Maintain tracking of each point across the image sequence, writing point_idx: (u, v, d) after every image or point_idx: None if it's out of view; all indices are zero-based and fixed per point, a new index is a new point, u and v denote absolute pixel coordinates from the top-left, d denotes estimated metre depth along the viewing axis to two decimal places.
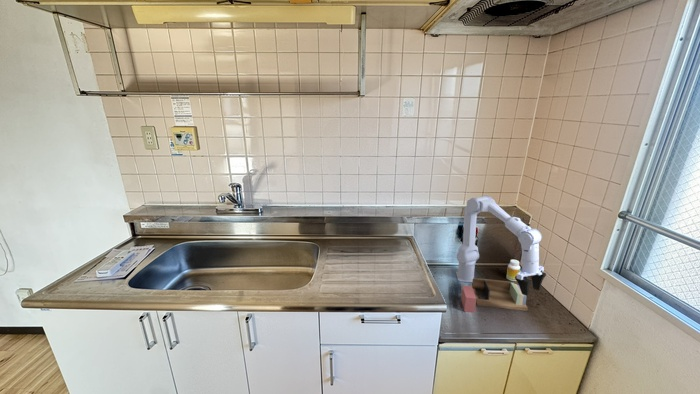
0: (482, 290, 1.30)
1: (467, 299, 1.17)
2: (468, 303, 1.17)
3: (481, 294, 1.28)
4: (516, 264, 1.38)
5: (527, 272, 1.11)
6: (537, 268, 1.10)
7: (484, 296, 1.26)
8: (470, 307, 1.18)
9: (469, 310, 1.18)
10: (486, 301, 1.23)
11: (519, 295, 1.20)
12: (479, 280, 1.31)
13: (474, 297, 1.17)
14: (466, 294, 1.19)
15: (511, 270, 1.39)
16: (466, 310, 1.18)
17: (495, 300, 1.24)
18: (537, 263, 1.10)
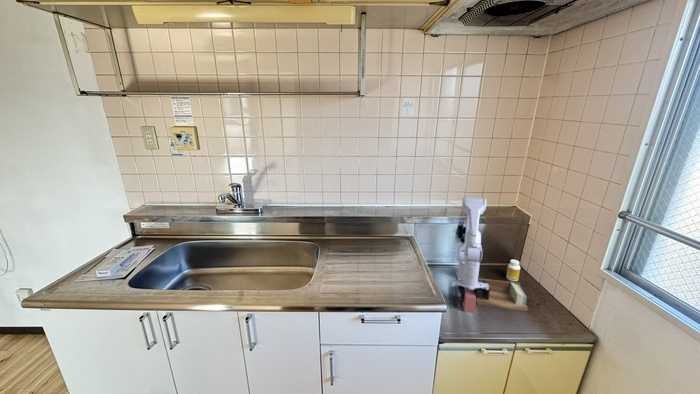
0: (482, 290, 1.30)
1: (467, 299, 1.17)
2: (468, 303, 1.17)
3: (481, 294, 1.28)
4: (516, 264, 1.38)
5: (462, 283, 1.20)
6: (471, 283, 1.17)
7: (484, 296, 1.26)
8: (470, 307, 1.18)
9: (469, 310, 1.18)
10: (486, 301, 1.23)
11: (519, 295, 1.20)
12: (479, 280, 1.31)
13: (474, 297, 1.17)
14: (466, 294, 1.19)
15: (511, 270, 1.39)
16: (466, 310, 1.18)
17: (495, 300, 1.24)
18: (471, 278, 1.16)
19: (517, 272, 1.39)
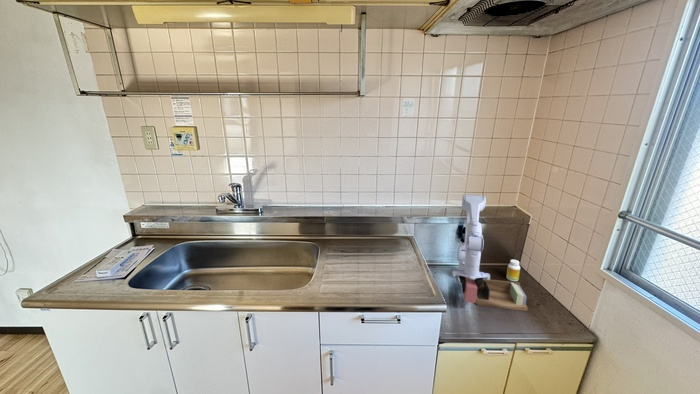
0: (482, 290, 1.30)
1: (468, 289, 1.16)
2: (469, 293, 1.16)
3: (481, 294, 1.28)
4: (516, 264, 1.38)
5: (463, 273, 1.18)
6: (472, 272, 1.15)
7: (484, 296, 1.26)
8: (471, 297, 1.16)
9: (470, 300, 1.17)
10: (486, 301, 1.23)
11: (519, 295, 1.20)
12: None
13: (475, 287, 1.15)
14: (467, 284, 1.18)
15: (511, 270, 1.39)
16: (467, 300, 1.17)
17: (495, 300, 1.24)
18: (473, 268, 1.15)
19: (517, 272, 1.39)
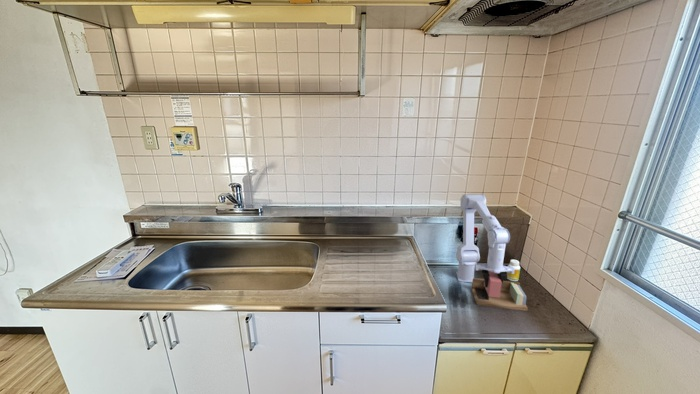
0: (482, 290, 1.30)
1: (492, 283, 1.13)
2: (493, 287, 1.13)
3: (481, 294, 1.28)
4: (516, 264, 1.38)
5: (487, 266, 1.16)
6: (496, 266, 1.13)
7: (484, 296, 1.26)
8: (495, 291, 1.14)
9: (494, 294, 1.14)
10: (486, 301, 1.23)
11: (519, 295, 1.20)
12: (479, 280, 1.31)
13: (499, 281, 1.13)
14: (491, 278, 1.15)
15: None
16: (491, 295, 1.14)
17: (495, 300, 1.24)
18: (497, 262, 1.12)
19: (517, 272, 1.39)
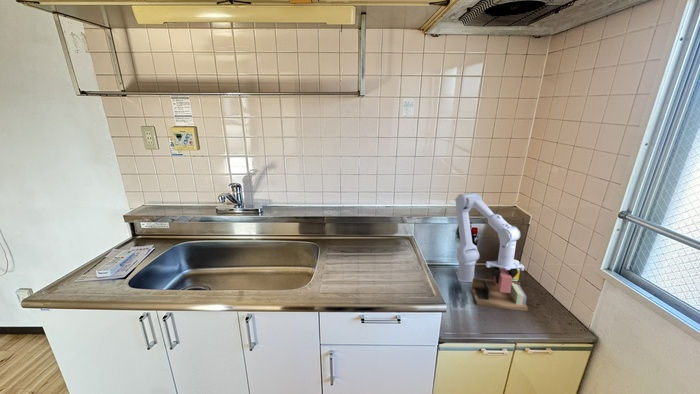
0: (482, 290, 1.30)
1: (503, 279, 1.18)
2: (504, 283, 1.18)
3: (481, 294, 1.28)
4: None
5: (498, 264, 1.21)
6: (507, 263, 1.18)
7: (484, 296, 1.26)
8: (506, 287, 1.19)
9: (505, 290, 1.19)
10: (486, 301, 1.23)
11: (519, 295, 1.20)
12: (479, 280, 1.31)
13: (510, 277, 1.18)
14: (502, 275, 1.20)
15: None
16: (502, 290, 1.19)
17: (495, 300, 1.24)
18: (508, 259, 1.17)
19: None
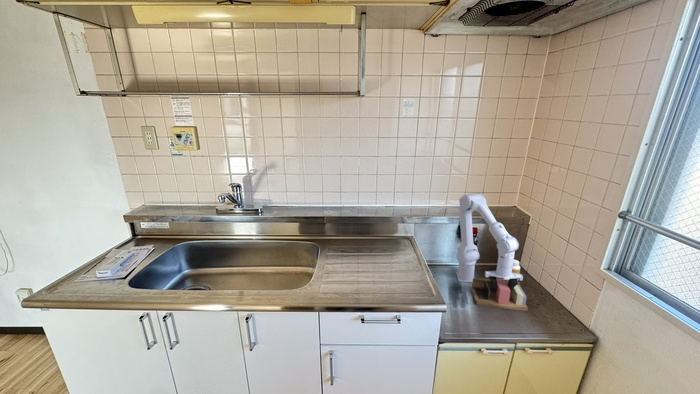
0: (482, 290, 1.30)
1: (501, 291, 1.20)
2: (502, 295, 1.20)
3: (481, 294, 1.28)
4: (516, 264, 1.38)
5: (496, 273, 1.22)
6: (505, 273, 1.19)
7: (484, 296, 1.26)
8: (504, 299, 1.20)
9: (503, 302, 1.21)
10: (486, 301, 1.23)
11: (519, 295, 1.20)
12: (479, 280, 1.31)
13: (508, 289, 1.19)
14: (500, 286, 1.21)
15: None
16: (500, 302, 1.21)
17: (495, 300, 1.24)
18: (506, 269, 1.19)
19: (517, 272, 1.39)
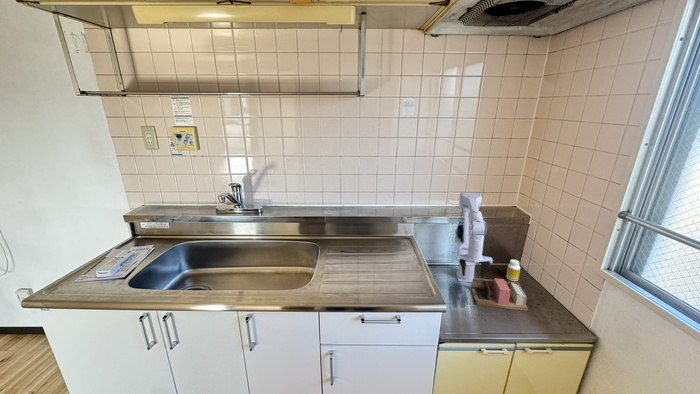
0: (482, 290, 1.30)
1: (501, 291, 1.20)
2: (502, 295, 1.20)
3: (481, 294, 1.28)
4: (516, 264, 1.38)
5: (467, 257, 1.24)
6: (475, 256, 1.21)
7: (484, 296, 1.26)
8: (504, 299, 1.20)
9: (503, 302, 1.21)
10: (486, 301, 1.23)
11: (519, 295, 1.20)
12: (479, 280, 1.31)
13: (508, 289, 1.19)
14: (500, 286, 1.21)
15: (511, 270, 1.39)
16: (500, 302, 1.21)
17: (495, 300, 1.24)
18: (476, 252, 1.20)
19: (517, 272, 1.39)
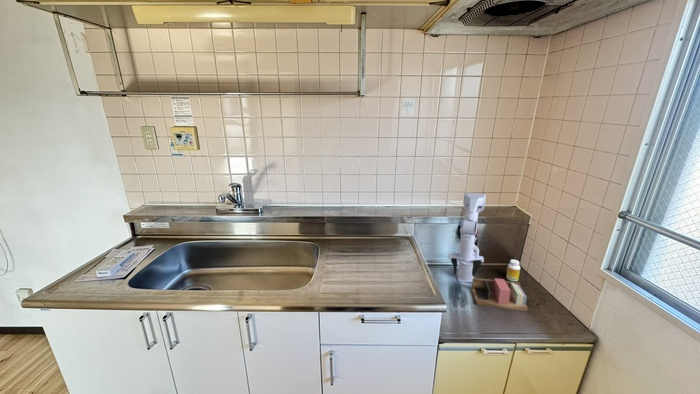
0: (482, 290, 1.30)
1: (501, 291, 1.20)
2: (502, 295, 1.20)
3: (481, 294, 1.28)
4: (516, 264, 1.38)
5: (459, 256, 1.25)
6: (467, 255, 1.22)
7: (484, 296, 1.26)
8: (504, 299, 1.20)
9: (503, 302, 1.21)
10: (486, 301, 1.23)
11: (519, 295, 1.20)
12: (479, 280, 1.31)
13: (508, 289, 1.19)
14: (500, 286, 1.21)
15: (511, 270, 1.39)
16: (500, 302, 1.21)
17: (495, 300, 1.24)
18: (467, 251, 1.22)
19: (517, 272, 1.39)
